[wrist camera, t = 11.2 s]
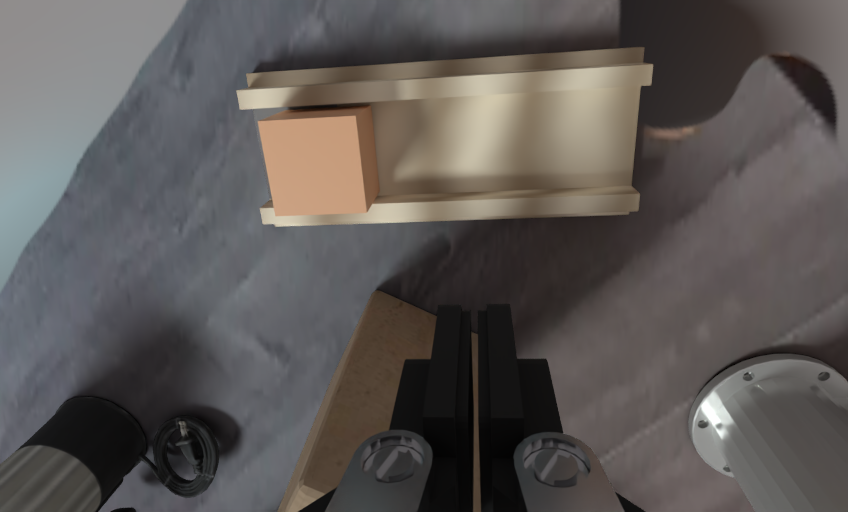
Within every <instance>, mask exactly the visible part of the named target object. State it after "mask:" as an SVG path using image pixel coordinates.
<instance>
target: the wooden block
mask: <svg viewBox="0 0 848 512" xmlns="http://www.w3.org/2000/svg"><path fill="white" fill-rule="evenodd" d="M436 319H437V316H435V315H433V314H431V313H429V312H426V311H424V310H422V309H420V308H417V307H415V306H413V305H411V304H408V303H406V302H404V301H402V300H399V299H397V298H395V297H393V296H391V295H388V294H386V293H384V292H382V291H378V290H376V291H375V292H373V293H372V295H371V297H370V299H369V301H368V303H367V305H366V307H365V309H364V311H363V314H362V316H361V318H360V320H359V322H358V324H357V326H356V328H355V330H354V333H353V335H352V337H351V339H350V341H349V343H348V345H347V347H346V349H345V351H344V354H343V356H342V358H341V360H340V362H339V364H338V366H337V368H336V370H335V373H334V375H333V377H332V379H331V382H330V384H329V387H328V389H327V392H326V394H325V396H324V399H323V401H322V404H321V406H320V409H319V411H318V414H317V416H316V418H315V421H314V423H313V426H312V428H311V431H310V433H309V436H308V438H307V440H306V443H305V445H304V448H303V450H302V453H301V455H300V458H299V460H298V462H297V465H296V467H295V470H294V472H293V475H292V477H291V480H290V482H289V484H288V487H287V489H286V492H285V494H284V497H283V499H282V502H281V504H280V506H279V509H278V511H277V512H298V511H300V510H301V509H303V508H304V507H306V506H308V505H309V504H311V503H312V502H314V501H315V500H317V499H319V498H320V497H322V496H323V495H325V494H327V493H328V492H330V491H331V490H333V489H335V488H336V487H338V485H339V483H340V481H341V479H342V477H343V475H344V473H345V471H346V469H347V467H348V465H349V463H350V461H351V459H352V457H353V455H354V453H355V451H356V450H357V448H358V447H359V446H360V444H361V443H363V442H364V441H365V440H366V439H368V438H369V437H371V436H373V435H375V434H378V433H380V432H384V431H389V427H390V422H391V418H392V414H393V409H394V405H395V400H396V396H397V391H398V387H399V383H400V378H401V374H402V369H403V365H404V361H405V360H406V359H431V353H432V346H433V340H434V333H435V326H436ZM471 336H472V366H473V395H474V491H473V512H481V494H480V461H479V428H478V334H476V333H473V332H471Z"/></svg>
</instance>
